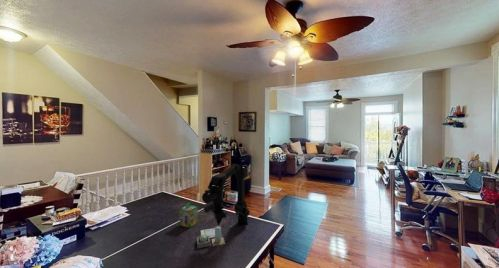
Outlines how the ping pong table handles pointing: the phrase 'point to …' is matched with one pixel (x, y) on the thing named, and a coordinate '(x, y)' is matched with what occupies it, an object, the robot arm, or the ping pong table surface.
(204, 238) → the button
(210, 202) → the robot arm
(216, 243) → the cork pad
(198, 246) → the button housing
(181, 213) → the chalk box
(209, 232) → the sheet
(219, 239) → the chalk stick
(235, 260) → the ping pong table surface
